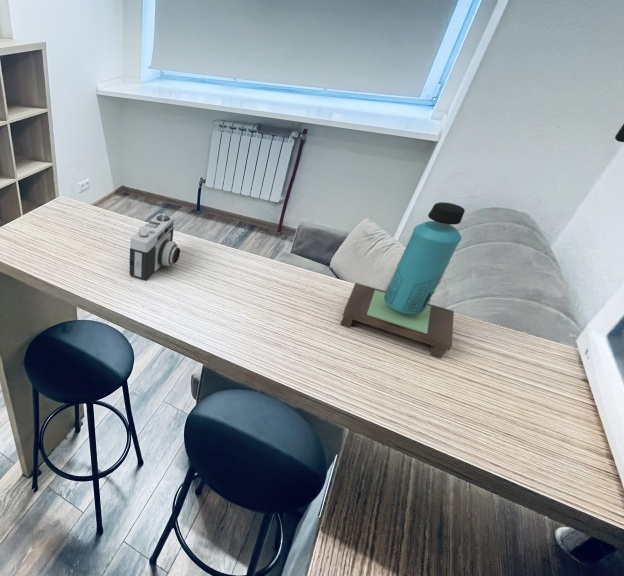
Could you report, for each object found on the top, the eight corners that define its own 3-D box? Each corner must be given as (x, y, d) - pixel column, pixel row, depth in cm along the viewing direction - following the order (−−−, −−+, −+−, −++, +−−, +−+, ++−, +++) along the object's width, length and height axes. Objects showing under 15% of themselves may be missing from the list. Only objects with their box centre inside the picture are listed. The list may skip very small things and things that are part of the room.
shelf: (445, 325, 75) (454, 310, 73) (442, 361, 68) (452, 344, 65) (349, 296, 83) (355, 281, 80) (338, 325, 75) (344, 310, 73)
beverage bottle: (419, 327, 69) (478, 219, 58) (375, 312, 72) (422, 208, 61) (423, 308, 73) (479, 204, 62) (381, 295, 77) (427, 194, 65)
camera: (161, 286, 87) (164, 245, 81) (128, 276, 90) (128, 235, 84) (187, 257, 96) (191, 218, 91) (155, 248, 100) (157, 211, 94)
